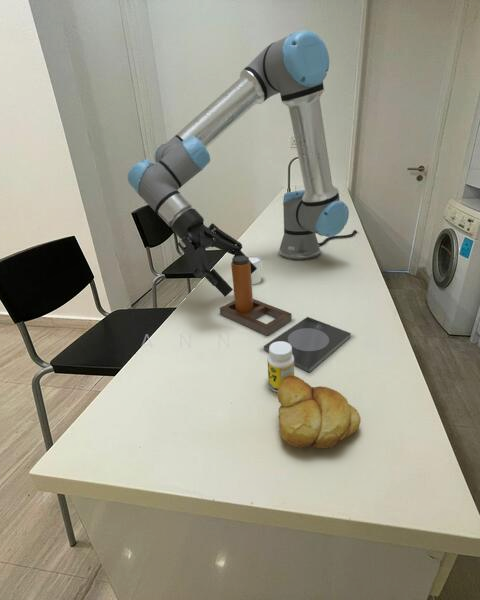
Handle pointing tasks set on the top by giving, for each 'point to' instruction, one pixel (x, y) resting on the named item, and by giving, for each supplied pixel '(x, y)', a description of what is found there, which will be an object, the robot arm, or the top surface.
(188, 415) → the top surface
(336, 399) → the bread roll
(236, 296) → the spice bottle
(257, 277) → the white short cylinder
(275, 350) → the supplement bottle
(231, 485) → the top surface
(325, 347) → the hob plate
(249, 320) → the frame
